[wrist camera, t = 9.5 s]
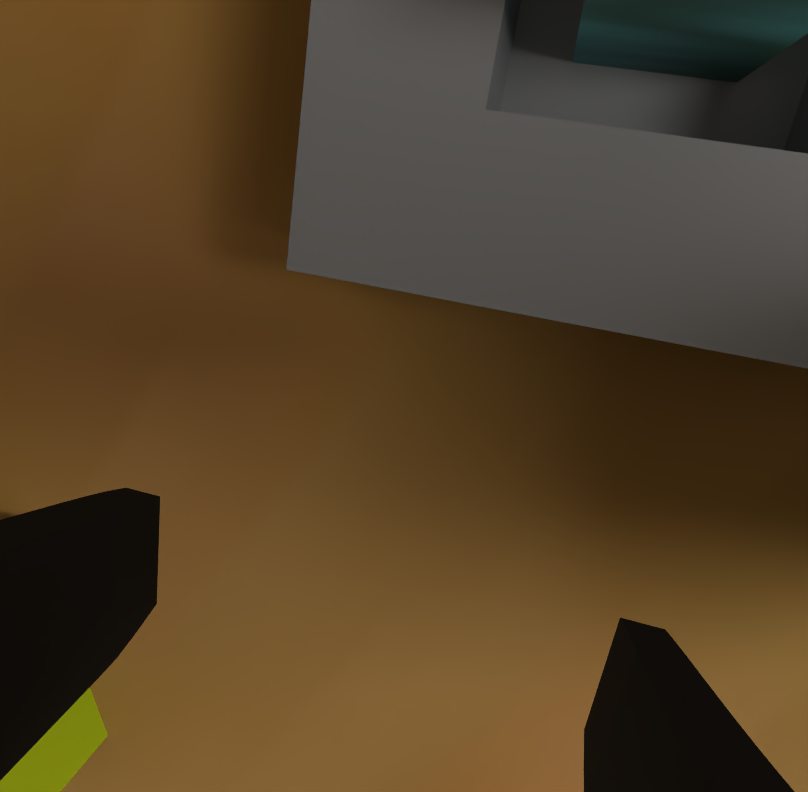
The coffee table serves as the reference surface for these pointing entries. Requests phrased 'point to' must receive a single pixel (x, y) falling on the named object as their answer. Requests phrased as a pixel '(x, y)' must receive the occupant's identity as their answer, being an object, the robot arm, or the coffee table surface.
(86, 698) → the puzzle toy
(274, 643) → the coffee table surface
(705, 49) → the teal peg
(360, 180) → the well block
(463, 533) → the coffee table surface
